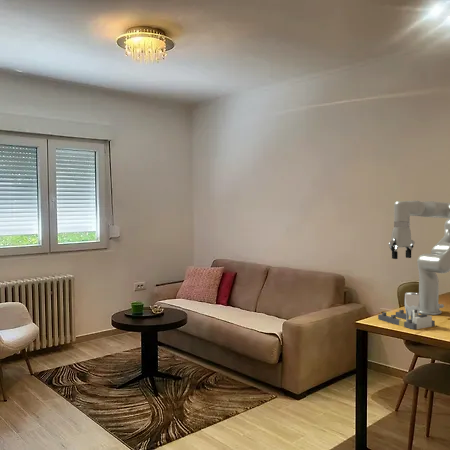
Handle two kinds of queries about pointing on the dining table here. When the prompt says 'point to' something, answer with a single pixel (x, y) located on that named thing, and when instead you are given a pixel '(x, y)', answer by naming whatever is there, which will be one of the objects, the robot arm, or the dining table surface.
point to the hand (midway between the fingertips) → (401, 258)
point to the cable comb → (418, 322)
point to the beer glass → (412, 305)
